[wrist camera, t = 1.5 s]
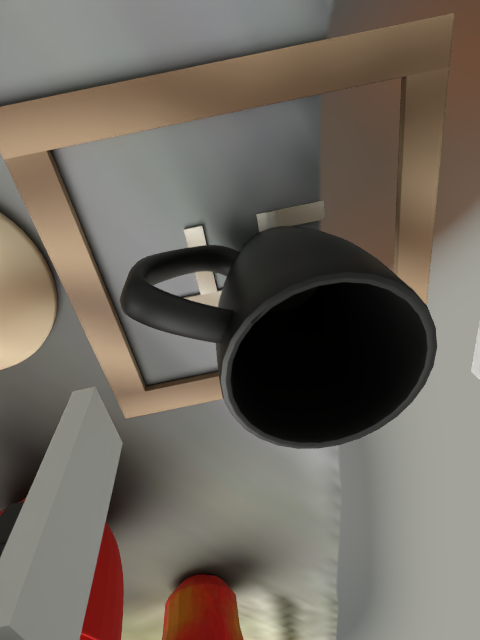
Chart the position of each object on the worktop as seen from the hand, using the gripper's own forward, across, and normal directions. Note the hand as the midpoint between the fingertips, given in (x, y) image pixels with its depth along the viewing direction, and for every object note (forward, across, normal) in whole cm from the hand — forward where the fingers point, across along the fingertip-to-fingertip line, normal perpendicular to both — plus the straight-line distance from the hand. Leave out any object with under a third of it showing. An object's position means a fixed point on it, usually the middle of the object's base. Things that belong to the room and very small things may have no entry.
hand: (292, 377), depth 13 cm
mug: (+10, 0, 0) cm, 10 cm away
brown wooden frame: (+10, 0, 0) cm, 10 cm away
